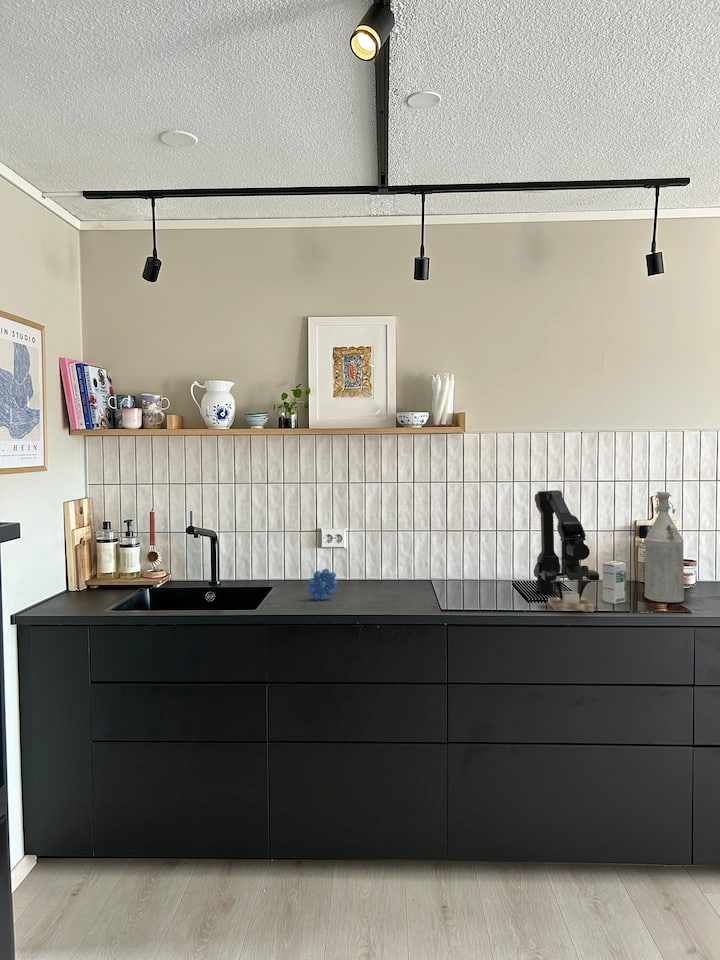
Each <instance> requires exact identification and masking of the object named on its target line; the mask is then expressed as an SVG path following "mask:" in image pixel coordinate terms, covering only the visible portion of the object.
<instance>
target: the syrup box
mask: <svg viewBox="0 0 720 960" xmlns="http://www.w3.org/2000/svg"><path fill="white" fill-rule="evenodd" d="M601 565H602V601H604V602H606V603H610V604H615V605H616V604H620V603H626V602H627V575H626V573H627V570H626V569H627V566H626V565H627V564H626V562H623V561H619V560H618V561H617V560H611V561H606V562H605V561H604V562H602V564H601Z"/></svg>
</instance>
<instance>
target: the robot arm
mask: <svg viewBox="0 0 720 960" xmlns="http://www.w3.org/2000/svg"><path fill="white" fill-rule="evenodd" d="M563 497H564V496H563V493H562V490H558V489H557V490H554V489H553V490H539V491H538V492H537V493H535V495H534V502H535V506H536V509H537V511H538V512H539V513H540V533H541V534H540V539H541V540H540V542H541V543H540V544H541V545H540V547H541V551H540V552H539V554H538V556H537V560H536V564H535V566H534V568H533V577H535V578H536V589H535V590H534V592H535V591H536V592H537V593H538V594H542V595H551V594H552V595H553V594H558V598H560V600H562V591H563V589H562V581H561V579H568V581H577V593H578V594H579V600H580V598H582V595H583V593H584V590H585V588H586V586H587V585H588V584H590V583H592V581H593V582H595V581H600V573H599V572H598V571H596V570H594V569H589V566H588V565H581V564H580V561H584V560H586V559H587V558H588V557H589V556H590V549H589V546H588V545H587V544H585V542H584V541H587V540H586V536H587V535H586V533H585V529H584V527H583V524H582V523H581V521H580V520H579V519H578V517H577V516H575V515H573V514H572V513H571V511H570V510H569V507H568V506H567V503H566V501H565V499H564V498H563ZM554 514H555V516H556V518H557V521H558V523H557V533H558V535H559V537H560V539H559V540H560V541H561V542H560V545H561V546H560V547H561V550H560V552H561V553H560V556H561V557H559V556H558V555H557V554H556V552H555V537H554V535H555V533H554V532H555V531H554V529H555V528H554ZM560 561H561V563H560ZM536 592H535V593H536Z"/></svg>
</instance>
